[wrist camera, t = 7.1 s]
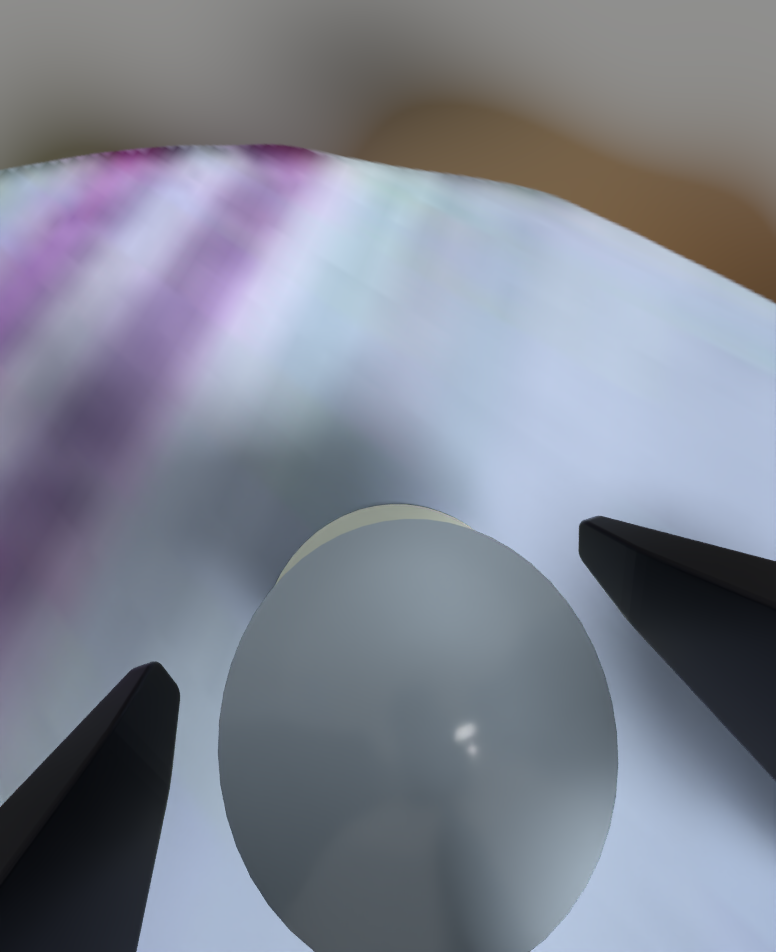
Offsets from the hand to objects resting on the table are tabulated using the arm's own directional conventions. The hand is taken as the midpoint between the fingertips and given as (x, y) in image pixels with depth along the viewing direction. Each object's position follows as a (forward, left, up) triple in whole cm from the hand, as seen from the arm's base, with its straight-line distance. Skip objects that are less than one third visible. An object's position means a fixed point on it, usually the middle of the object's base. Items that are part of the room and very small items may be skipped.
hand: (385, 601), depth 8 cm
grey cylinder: (-1, 0, -8) cm, 8 cm away
